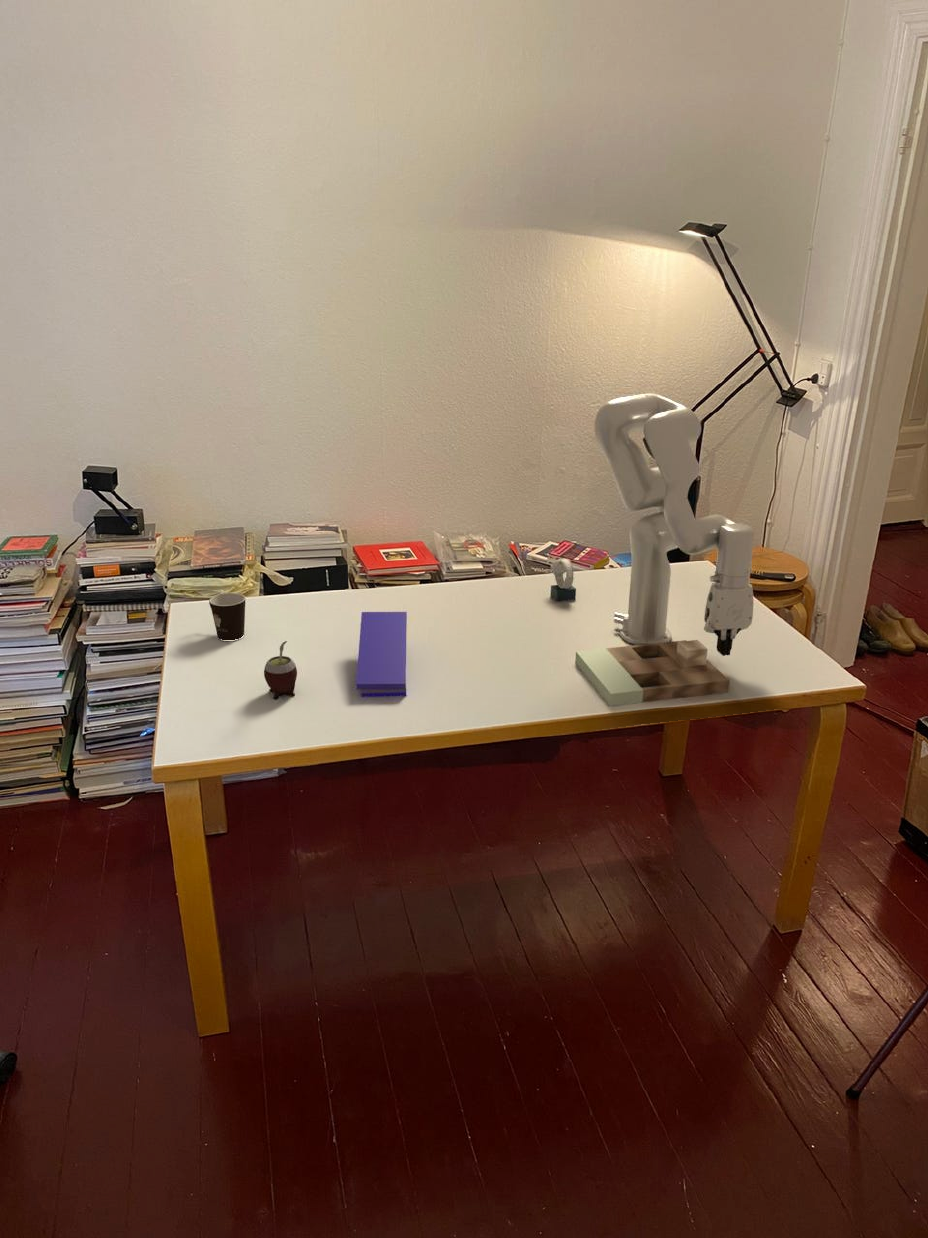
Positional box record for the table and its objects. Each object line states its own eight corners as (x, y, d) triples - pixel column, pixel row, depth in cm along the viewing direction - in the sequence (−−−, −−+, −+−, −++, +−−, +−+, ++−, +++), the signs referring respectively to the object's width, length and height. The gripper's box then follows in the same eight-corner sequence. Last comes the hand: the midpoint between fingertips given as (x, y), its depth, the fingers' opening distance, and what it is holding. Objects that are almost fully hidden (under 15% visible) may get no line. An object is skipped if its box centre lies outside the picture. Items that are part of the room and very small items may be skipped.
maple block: (685, 666, 227) (687, 650, 225) (676, 657, 231) (677, 641, 230) (705, 664, 228) (707, 648, 226) (695, 655, 232) (697, 639, 231)
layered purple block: (407, 645, 245) (406, 608, 241) (409, 698, 219) (408, 658, 215) (360, 646, 244) (358, 609, 240) (356, 700, 218) (355, 659, 214)
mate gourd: (276, 684, 224) (271, 622, 218) (307, 690, 222) (303, 628, 216) (258, 698, 218) (253, 635, 212) (290, 705, 215) (285, 641, 209)
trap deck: (642, 702, 217) (643, 690, 216) (605, 659, 237) (605, 648, 236) (728, 692, 222) (729, 680, 221) (684, 651, 242) (685, 640, 240)
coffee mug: (251, 640, 246) (248, 603, 242) (216, 645, 243) (212, 607, 239) (243, 623, 256) (239, 586, 252) (208, 627, 253) (205, 591, 249)
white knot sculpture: (565, 591, 277) (567, 553, 273) (578, 601, 270) (580, 563, 266) (547, 593, 276) (548, 556, 271) (559, 604, 269) (561, 565, 264)
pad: (609, 706, 216) (610, 693, 214) (575, 662, 235) (575, 651, 234) (642, 702, 217) (643, 690, 216) (605, 659, 237) (605, 648, 236)
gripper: (709, 587, 219) (701, 663, 226) (770, 582, 222) (760, 656, 229) (693, 576, 225) (686, 649, 233) (753, 570, 229) (744, 643, 236)
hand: (723, 653), depth 231 cm, fingers closed
